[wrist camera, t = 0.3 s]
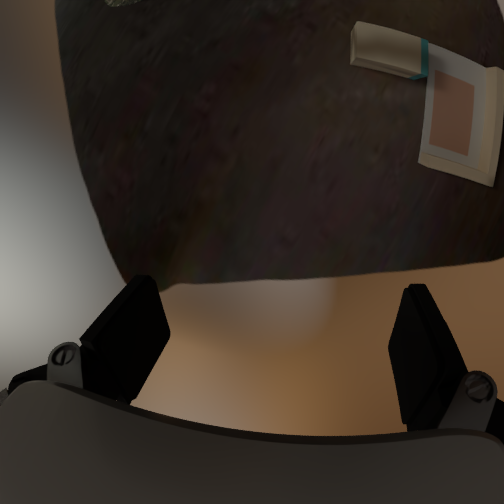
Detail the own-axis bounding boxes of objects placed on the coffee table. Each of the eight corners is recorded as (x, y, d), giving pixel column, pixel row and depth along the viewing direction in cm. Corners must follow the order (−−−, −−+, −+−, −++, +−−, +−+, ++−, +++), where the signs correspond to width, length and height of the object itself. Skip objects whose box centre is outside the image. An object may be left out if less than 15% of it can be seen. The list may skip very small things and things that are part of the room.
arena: (427, 43, 24) (437, 38, 21) (491, 72, 22) (504, 70, 19) (418, 162, 32) (427, 167, 29) (480, 181, 31) (492, 187, 28)
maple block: (351, 32, 26) (357, 20, 22) (414, 48, 25) (428, 40, 20) (350, 64, 28) (356, 57, 24) (413, 80, 27) (428, 76, 23)
